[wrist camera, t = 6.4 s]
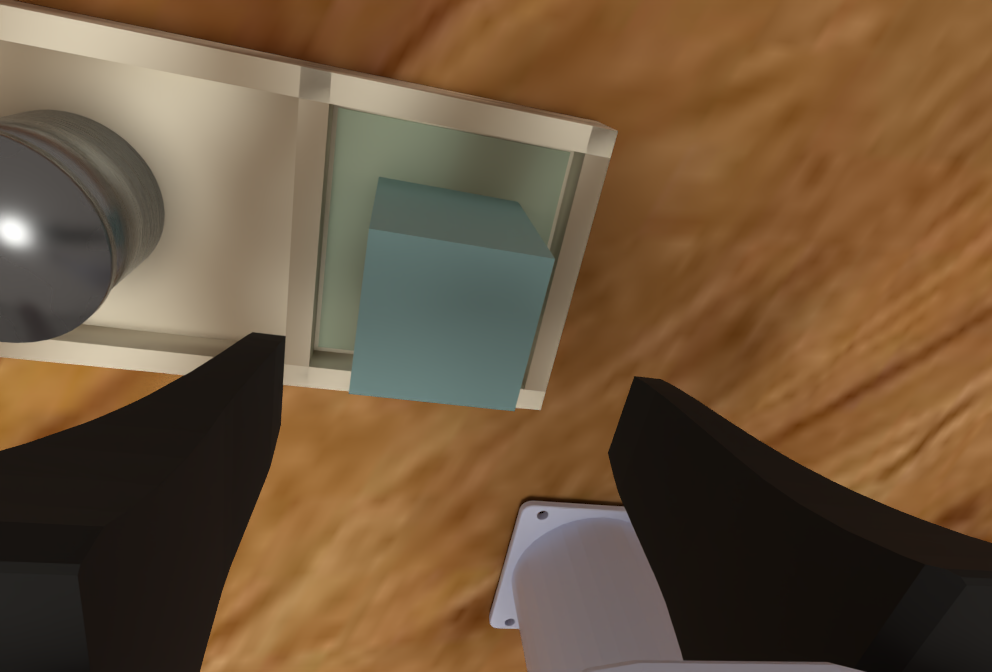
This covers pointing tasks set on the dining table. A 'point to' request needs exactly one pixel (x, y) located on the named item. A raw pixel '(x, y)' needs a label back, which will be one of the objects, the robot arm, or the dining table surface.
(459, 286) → the teal block
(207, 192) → the birch organizer
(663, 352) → the dining table surface
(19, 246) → the grey tin
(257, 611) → the dining table surface
